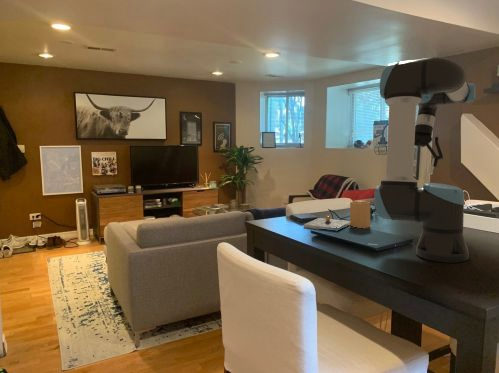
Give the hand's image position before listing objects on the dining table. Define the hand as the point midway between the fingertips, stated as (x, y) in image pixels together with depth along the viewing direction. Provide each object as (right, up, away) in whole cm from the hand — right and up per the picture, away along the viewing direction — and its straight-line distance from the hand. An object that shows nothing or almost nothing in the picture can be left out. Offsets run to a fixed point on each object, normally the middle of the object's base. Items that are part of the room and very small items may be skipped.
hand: (414, 171), depth 163 cm
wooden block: (-24, -24, -1) cm, 34 cm away
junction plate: (-38, -24, +3) cm, 45 cm away
